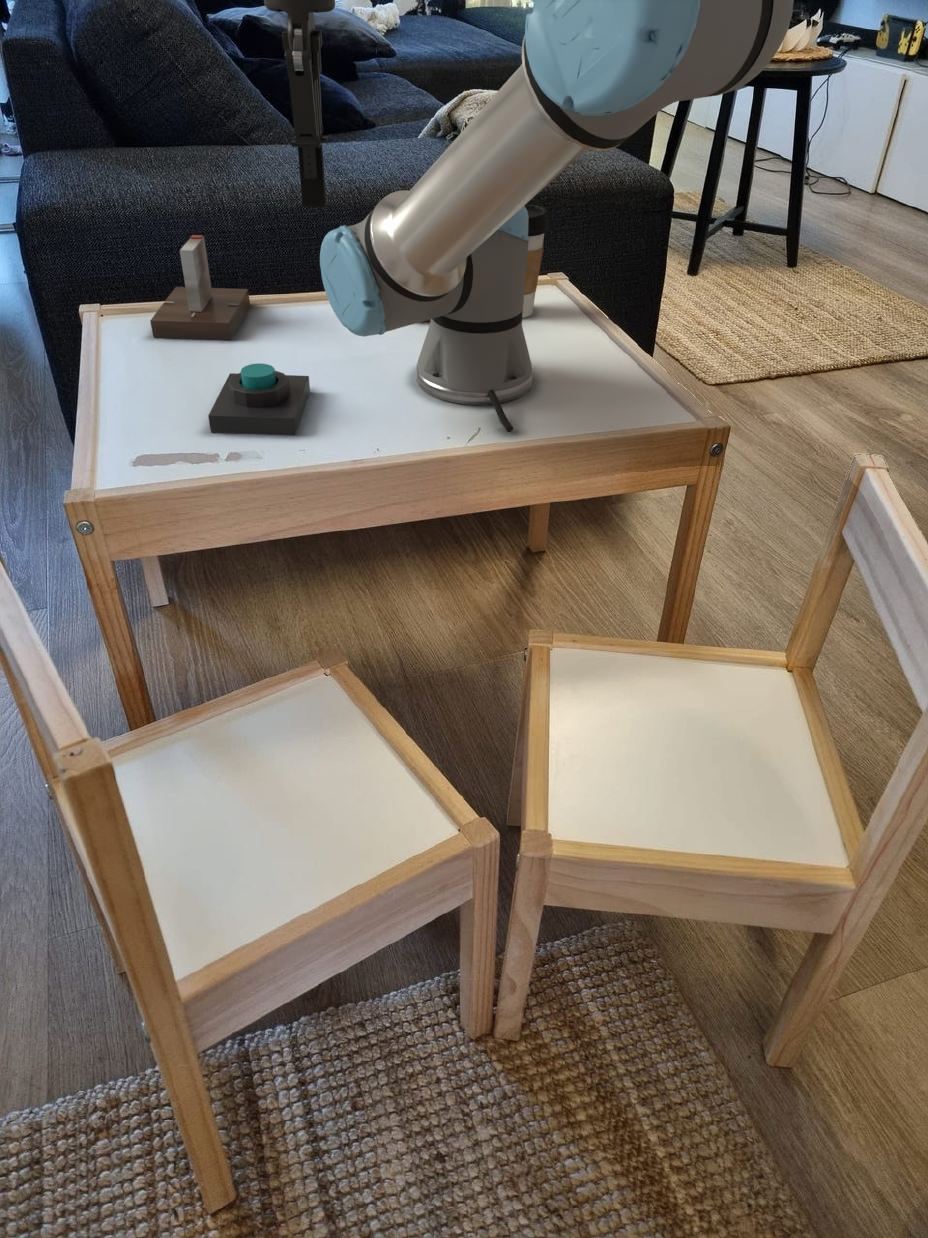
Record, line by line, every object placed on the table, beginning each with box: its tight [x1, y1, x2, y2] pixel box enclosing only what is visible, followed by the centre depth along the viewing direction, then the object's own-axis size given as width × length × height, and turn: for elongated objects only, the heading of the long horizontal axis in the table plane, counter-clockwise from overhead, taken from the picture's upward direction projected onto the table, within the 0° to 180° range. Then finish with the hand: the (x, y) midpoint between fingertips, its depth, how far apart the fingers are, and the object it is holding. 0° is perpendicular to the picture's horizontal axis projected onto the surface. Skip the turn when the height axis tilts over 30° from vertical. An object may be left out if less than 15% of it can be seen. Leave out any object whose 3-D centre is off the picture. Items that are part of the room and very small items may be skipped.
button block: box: [208, 370, 311, 436], centre depth 112 cm, size 12×10×4 cm
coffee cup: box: [522, 204, 549, 319], centre depth 138 cm, size 8×8×15 cm
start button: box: [240, 362, 276, 389], centre depth 110 cm, size 4×4×2 cm
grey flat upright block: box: [179, 234, 212, 312], centre depth 131 cm, size 6×2×9 cm, turn 179°
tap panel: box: [149, 286, 251, 341], centre depth 135 cm, size 14×11×3 cm
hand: (314, 204), depth 111 cm, fingers closed
